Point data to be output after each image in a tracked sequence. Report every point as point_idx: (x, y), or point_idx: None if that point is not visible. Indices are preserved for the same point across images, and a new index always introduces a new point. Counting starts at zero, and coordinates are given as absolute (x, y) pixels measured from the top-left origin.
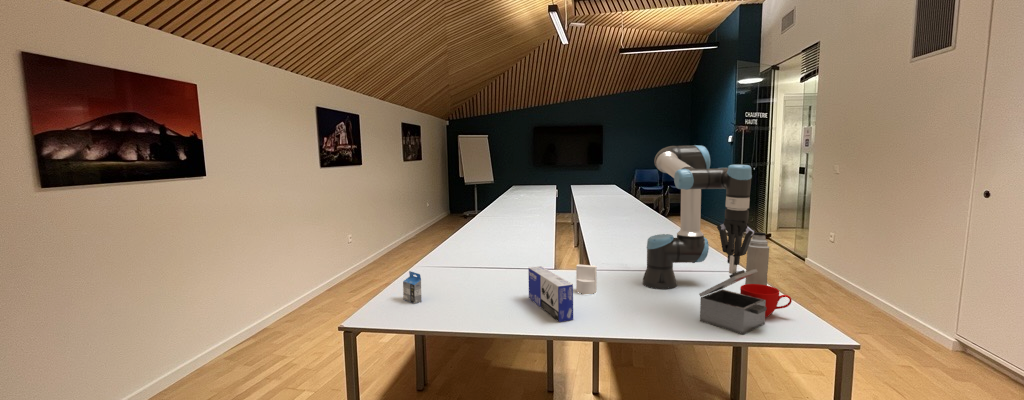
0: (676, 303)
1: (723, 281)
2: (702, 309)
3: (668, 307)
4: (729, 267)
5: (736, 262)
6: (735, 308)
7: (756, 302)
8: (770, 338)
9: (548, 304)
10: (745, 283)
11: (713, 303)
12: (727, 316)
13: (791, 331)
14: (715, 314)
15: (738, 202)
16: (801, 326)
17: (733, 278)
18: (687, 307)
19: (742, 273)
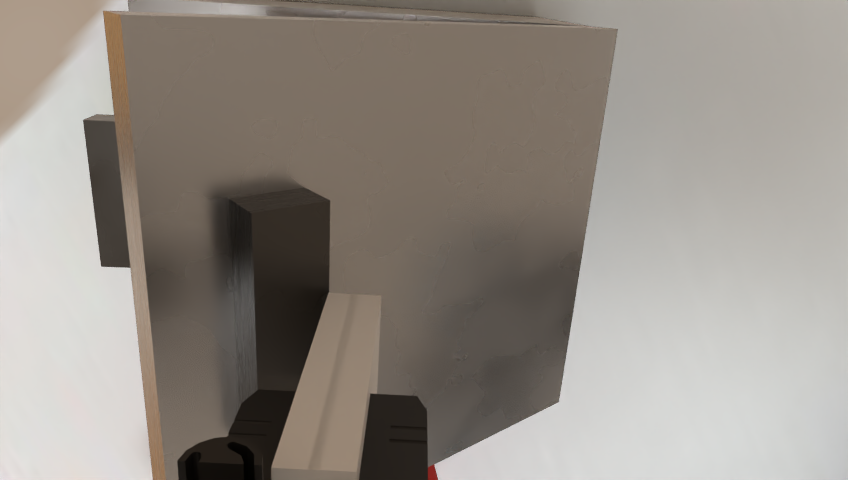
0: (810, 224)
1: (325, 19)
2: (538, 19)
3: (829, 105)
4: (371, 336)
5: (253, 418)
6: (220, 2)
7: None
8: (60, 75)
9: None
10: None
11: (445, 16)
12: (310, 5)
13: (56, 287)
14: (417, 11)
15: None
16: (70, 401)
17: (145, 13)
18: (716, 207)
19: (143, 275)
